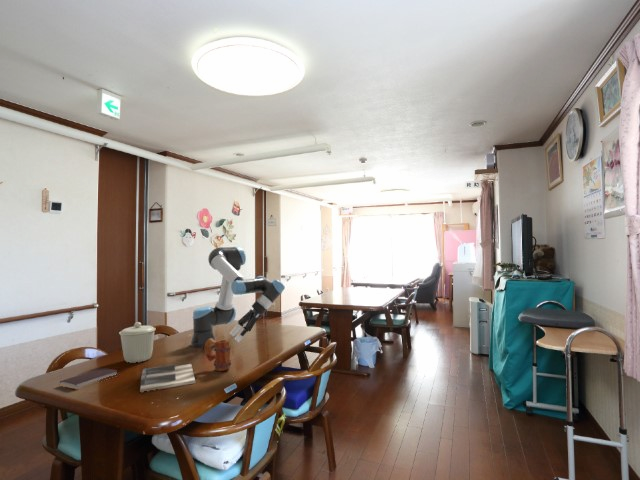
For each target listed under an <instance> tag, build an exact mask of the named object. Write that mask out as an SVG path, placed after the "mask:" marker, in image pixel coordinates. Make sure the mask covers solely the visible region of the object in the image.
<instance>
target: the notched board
mask: <svg viewBox="0 0 640 480" xmlns="http://www.w3.org/2000/svg"><path fill="white" fill-rule="evenodd" d="M191 384H196V379H195V374H194V370H193V366H192V363H188V364H182V365H181V364H180V365H175V364H167V365H160V366H154V367H148V368H143V369H142V372H141V377H140V389H139V392H141V393H145V392H144V391H147V392H151V391H150V390H153V391H157V390H156V389H158V390H163V389H168V388H169V389H170V388H174V387H179V386H187V385H191Z"/></svg>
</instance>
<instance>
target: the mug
mask: <svg viewBox="0 0 640 480" xmlns="http://www.w3.org/2000/svg"><path fill="white" fill-rule="evenodd" d="M212 347H214V350H213V351H214V353H213V352H212ZM203 348H204V354H205V357H206V359H207V360H208V361H209V362H212V361H213V366H214V369H215V370H216V371H217V372H225V371H227V370H229V369H230V368H231V366H232V360H231V345H230V341H229V339H219V340H216V341H215V340H214V339H212V338H210V339H208V340H207V341H206V343H205V347H203Z"/></svg>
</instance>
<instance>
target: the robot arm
mask: <svg viewBox="0 0 640 480" xmlns="http://www.w3.org/2000/svg"><path fill="white" fill-rule="evenodd" d="M246 258H247V257H246V253H245V250H244V249H243V247H239V246H238V247H237V246H233V247H232V246H230V247H229V246H228V247H227V246H226V247H223V246H222V247H221V246H220V247H216V248H214V249H213V250H211V252H210V253H209V255H208V259H207V260H208V263H209V266H210V267H211V268H212V269H213V270H217V272H219V273H220V275H221V276H222V278H221V284H220V290H219V295H218V296H219V297H218V301H217V302H216V303H215V307H213V306H211V305H205V306H200V307H198V308H196V309H194V310H193V313H192V319H193V320H192V321H193V323H192V326H193V334H192V337H191V340H190V346H191V347H192V348H204V347H205V343H206V341H207V340H208V339H210V338H212V339H214V340H215V341H217V340H216V336H215V333H214V331H213V329H214V328H213V327H215V326H220V325H221V326H222V325H228V324H231V323H233V322H234V321H235V318H236V315H237V311H236V310H237V309H236V307H235V306H234V304H233V298H234V295H236V296H239V295H241V296H242V295H246V294H255V293H261V294H260V295H259V297H258V298H257V299H256V301H255V302H253V303H252V305H251V307H252V309H251V308H250V309H249V311H248V312H246V313H245V315H243V316H242V317H241V318H240V319H239V320H237V324H235V326H234V327H233V328H232V329H231V330H230V332H229V335H231V336H232V337H234V336H235V335H236V334H237V333H238V334H237V335H236V336H235V337H234V340H235V341H237V343H240V342H241V340H242V339H243V338H244V337H245V336H246V334H247V333H248V332H251V331H252V329H253V327H254V326H255V325H256V323H257V321H258V320H259V318H260V317H261V316H264V314H265V313H266V312H267V310H268V309H269V308H271V307H272V304H273V303H275V301H276V300H277V299H278V297H280V295H281V294H282V293H283V292H284V290H285V285H284V284H283V283H282V282H281V281H280V280H278V279H277V278H276V279H274V280H273V281H271V280H270V279H268V278H267V277H265V276H263V275H258V276H257V277H255V278H249V279H246V278H245V277H244V276H243V275H242V274H241V273H240V272H239V271H240V270H241V267H242V266H243V265H245V264H246V262H247V261H246V260H247V259H246ZM244 325H245V326H244ZM241 328H242V329H241Z"/></svg>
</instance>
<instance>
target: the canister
mask: <svg viewBox="0 0 640 480" xmlns="http://www.w3.org/2000/svg"><path fill="white" fill-rule="evenodd" d="M155 331H156V327H153V325H142V323H141V322H139V321H136V322H135V323H134V324H133V326H129V327H126V328H124V329H122V330H121V331H119V332H118V334H119V335H120V342H121V348H122V354H123V359H124V360H125V362H126V363H128V362H129V364H136V362H138V363H142V361H143V362H146V361H148V360H150V359H151V357H152V355H153V348H154V341H155V340H154V339H155Z"/></svg>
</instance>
